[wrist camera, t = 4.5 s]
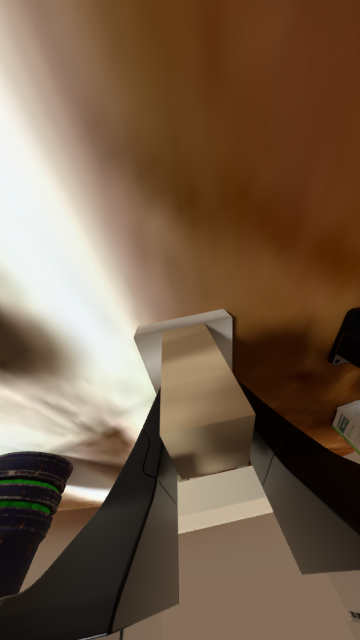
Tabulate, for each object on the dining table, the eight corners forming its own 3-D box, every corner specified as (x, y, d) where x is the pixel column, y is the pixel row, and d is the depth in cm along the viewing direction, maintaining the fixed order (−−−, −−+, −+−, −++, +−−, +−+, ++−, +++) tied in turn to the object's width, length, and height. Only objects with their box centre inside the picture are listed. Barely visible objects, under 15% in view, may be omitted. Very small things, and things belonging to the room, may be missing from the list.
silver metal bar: (137, 326, 11) (94, 449, 4) (223, 309, 11) (318, 400, 4) (184, 454, 22) (194, 545, 15) (227, 445, 22) (255, 531, 15)
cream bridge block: (271, 425, 21) (308, 487, 15) (265, 451, 25) (293, 507, 19) (140, 455, 20) (131, 528, 15) (156, 476, 24) (154, 539, 19)
